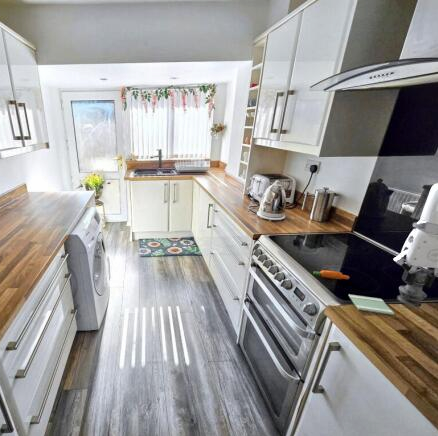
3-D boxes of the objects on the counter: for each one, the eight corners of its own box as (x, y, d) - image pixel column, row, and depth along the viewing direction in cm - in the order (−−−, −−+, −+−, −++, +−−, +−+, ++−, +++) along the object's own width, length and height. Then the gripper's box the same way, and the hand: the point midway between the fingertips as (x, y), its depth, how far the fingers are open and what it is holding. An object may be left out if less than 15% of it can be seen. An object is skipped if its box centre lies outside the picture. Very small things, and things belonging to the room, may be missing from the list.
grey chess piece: (422, 310, 70) (437, 276, 66) (394, 301, 75) (406, 268, 71) (423, 301, 74) (437, 267, 70) (396, 292, 78) (408, 260, 74)
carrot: (346, 277, 100) (348, 271, 99) (350, 282, 97) (352, 275, 96) (312, 273, 104) (313, 267, 103) (314, 277, 101) (315, 271, 100)
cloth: (348, 295, 90) (348, 294, 90) (380, 299, 87) (381, 298, 87) (358, 309, 83) (358, 308, 83) (394, 315, 80) (395, 314, 80)
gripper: (408, 231, 65) (388, 287, 71) (493, 235, 60) (463, 295, 66) (391, 221, 72) (374, 273, 78) (466, 224, 67) (441, 279, 73)
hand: (415, 283), depth 72 cm, fingers closed on grey chess piece, 3 cm apart
